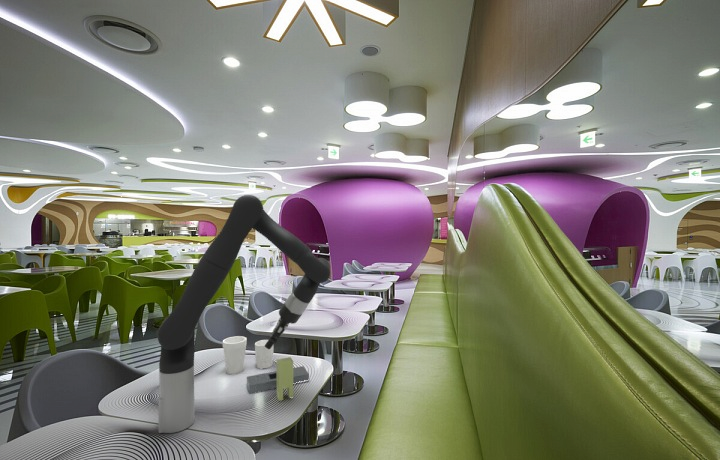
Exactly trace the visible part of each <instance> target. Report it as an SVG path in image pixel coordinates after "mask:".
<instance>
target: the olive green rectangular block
mask: <svg viewBox="0 0 720 460" xmlns="http://www.w3.org/2000/svg"><path fill="white" fill-rule="evenodd" d="M275 363H276V364H275V365H276V369H275V370H276V371H277V388H276V398H277V397H278V398H277V400H278V402H279V401H280V400H283V401H284V389H285V390H286V395H287V394H288V395H287V397H288V396H289V397H293V398H294V385H293V368H294V360H293V359H292V357H290V356H289V357H283V358H279V359H277V358H276V362H275ZM289 397H288V398H289ZM280 402H281V401H280Z"/></svg>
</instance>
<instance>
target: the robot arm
mask: <svg viewBox="0 0 720 460" xmlns="http://www.w3.org/2000/svg"><path fill="white" fill-rule="evenodd" d="M252 229H253V230H254V231H256V232H257V233H259V234H260V235H262V236H263V237H264V238H266V239H267V240H268V241H269V242H270V243H271V244H272V245H274V246H275V248H277V249H278V250H279V251H280V252H282V253H283V254H284V255H285V257H287V258H288V259H290V260H291V261H292V262H294V263H295V264H296V265H297V266H298V267H299V268H300V270H302V272H303V273H304V275H303V277H302V279H301V280H300V281H299V282H298V283H297V285H296V286H295V288H294V290H293V291H292V292H291V293H290V294H289V296H288V297H287V299H286V300H285V302H283V304H282V306H281V307H280V309H279V310H278V314H279V318H278V321H277V322H276V325H275V327H274V328H273V330H272V332H271V333H270V334H271V335H270V336H269V339H267V340H268V342H267V343H266V344H265V347H266V348H267V349H270V348H271V347H272V346H273V344H276V343H277V342H278V340H279V338H280V337H282V335H283V334H284V332H285V331H286V330H287V329H288V327H289V325H290V324H292V325H293V324H296V323H297V322H298V321H299V319H301V317H302V315H304V312H306V309H308V306H309V304H310V303H311V301H312V300H313V298H314V297H315V295H316V294H317V291H318V288H319V286H320V284H323V283H325V282H328V280H329V279H330V276H331V265H330V262H329V261H328V260H327V259H326V258H323V257H317V256H315V255H314V253H313V251H312V249H311V248H310V247H309V246H308V245H307V244H305V242H303V241H302V240H300V239H299V238H298V237H297V236H295V235H294V234H293V233H291V232H290V231H288V230H287V229H285V228H284V227H283V226H281V225H280V224H279V223H278V222H276V221H275V220H274V219H273V218H272V217H270V215H269V214H268V213H267V212H266V211H265V210H264V205H263V202H262V200H260V198H259V197H257V196H255V195H253V194H244V195H242V196H240V197H238V198H237V199H236V200H235V201H234V203H233V205H232V208H231V210H230V212H229V214H228V217H227V219H226V221H225V224H224V225H223V227H222V229H221V231H220V232H218V235H216V237H215V238H214V239H213V240H212V242H211V243H210V244H209V246H208V247H207V249H206V250H205V251H204V253H203V254H202V257H200V259H199V261H198V263H197V264H196V266H195V268H194V270H193V272H192V273H191V276H190V277H189V280H188V281H187V284H186V286H185V288H184V291H183V293H182V295H181V297H180V299H179V300H178V302H177V304H176V305H175V307H174V308H173V310H172V311H171V312H170V313H169V315H168V316H167V317H165V318H164V320H163V321H162V323H161V324H160V326H159V327H158V330H157V336H156V338H157V341H158V343H159V345H160V356H159V363H158V364H159V365H158V366H159V368H158V369H159V373H158V374H159V375H158V376H159V378H158V379H159V383H158V384H159V385H158V386H159V399H158V434H162V433H163V434H173V433H178V432H181V431H184V430H186V429H188V428H189V427H191V426H192V425H193V424H194V422H195V413H196V412H195V352H196V350H195V345H196V343H195V342H196V341H195V339H196V338H195V336H196V334H195V333H196V332H195V331H196V330H195V329H196V327H197V325H198V322H199V320H200V317H202V316H201V315H202V314H203V312H204V311H205V309H206V307H207V306H208V305H209V303H210V302H211V300H212V299H213V298H214V296H215V295H216V294H217V292H218V291H219V289H220V288H221V286H222V284H223V283H224V281H225V280H226V278H227V276H228V275H229V273H230V271H231V270H232V268H233V266H234V263H235V261H236V260H237V257H238V256H239V252H240V250H241V248H242V245H243V243H244V241H245V240H246V238H247V236H249V235H248V234H250V232H251V231H252Z"/></svg>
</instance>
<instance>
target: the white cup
mask: <svg viewBox="0 0 720 460" xmlns="http://www.w3.org/2000/svg"><path fill="white" fill-rule="evenodd" d="M268 340H269V339H261V340H258V341H256V342H255V343H254V351H255V352H254V355H255V365H256V368H257V369H259V368H266V369H269V368H271V367H272V366H273V365H274V363H273V362H274V360H273V359H274V347H275V345H274V344H275V343H274V344H273V346H272V347H271V348H270V349H267V348H266V347H265V344H266V343H267V342H268Z"/></svg>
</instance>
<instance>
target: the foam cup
mask: <svg viewBox="0 0 720 460" xmlns="http://www.w3.org/2000/svg"><path fill="white" fill-rule="evenodd" d="M247 342H248V341H247V336H246V337H245V336H241V335H237V336H230V337H227V338H225V339H223V340H222V349H223V354H224V355H223V356H224V360H225V367H226V373H227V374H228V375H237V374H240V373H243V371H244V367H245V365H244V364H245V358H246V348H247V345H248V343H247Z"/></svg>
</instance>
